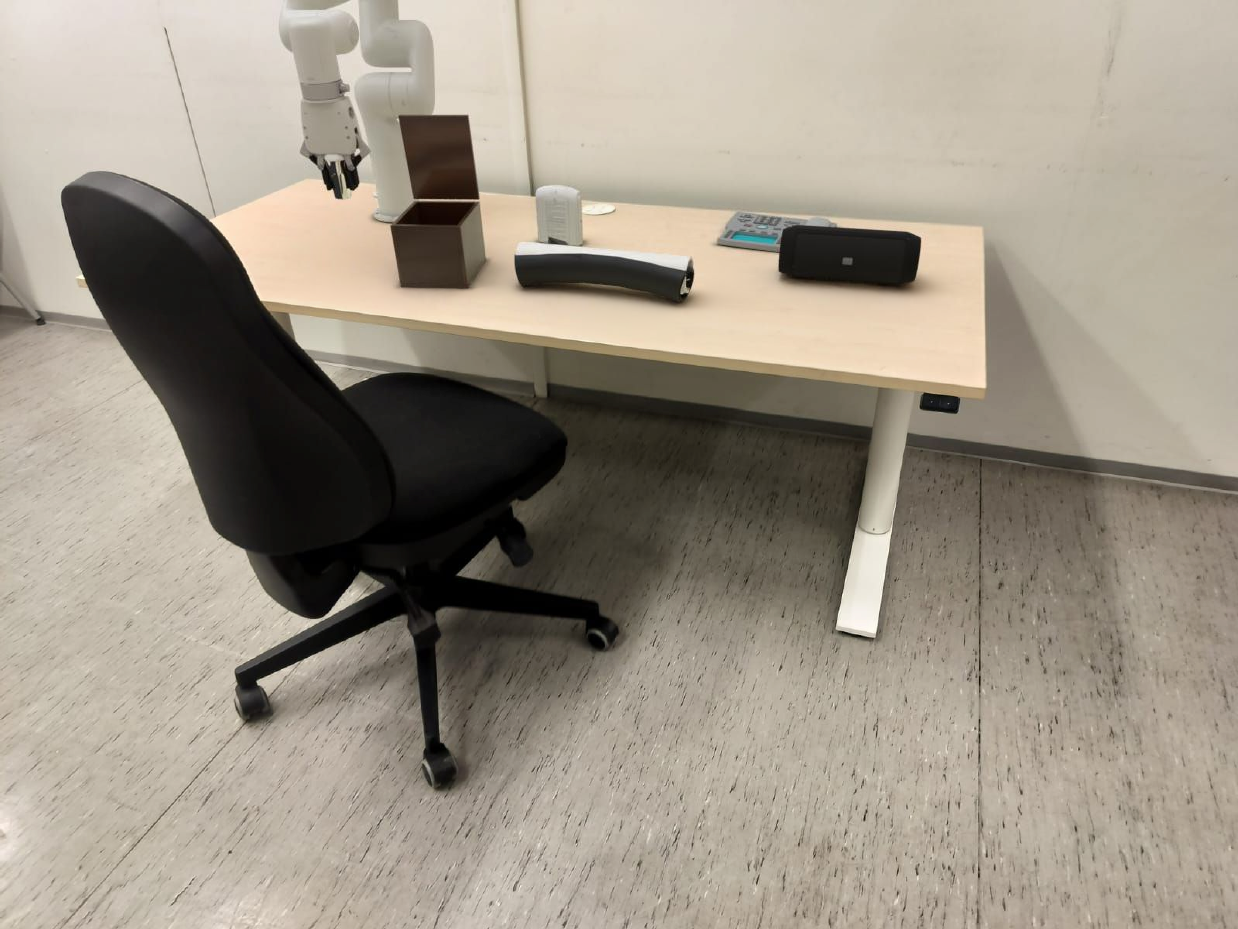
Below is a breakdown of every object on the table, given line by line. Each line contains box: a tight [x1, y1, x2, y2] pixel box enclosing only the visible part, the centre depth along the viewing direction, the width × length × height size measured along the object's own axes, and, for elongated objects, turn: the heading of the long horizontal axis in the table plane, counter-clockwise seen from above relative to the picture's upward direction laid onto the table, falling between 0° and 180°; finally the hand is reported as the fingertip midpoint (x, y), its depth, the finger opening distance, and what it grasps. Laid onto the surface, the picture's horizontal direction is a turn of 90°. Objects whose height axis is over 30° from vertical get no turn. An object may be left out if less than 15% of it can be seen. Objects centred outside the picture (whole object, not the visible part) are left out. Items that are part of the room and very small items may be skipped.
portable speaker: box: [777, 225, 922, 287], centre depth 163 cm, size 26×10×10 cm, turn 75°
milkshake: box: [324, 154, 353, 201], centre depth 168 cm, size 4×5×10 cm
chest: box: [389, 200, 487, 289], centre depth 170 cm, size 16×14×12 cm
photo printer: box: [535, 184, 584, 247], centre depth 184 cm, size 10×4×12 cm, turn 72°
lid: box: [398, 114, 481, 201], centre depth 168 cm, size 16×14×1 cm
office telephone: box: [716, 211, 838, 253], centre depth 187 cm, size 23×3×20 cm
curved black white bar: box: [513, 237, 695, 303], centre depth 163 cm, size 35×9×14 cm
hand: (342, 187), depth 170 cm, fingers closed on milkshake, 4 cm apart
